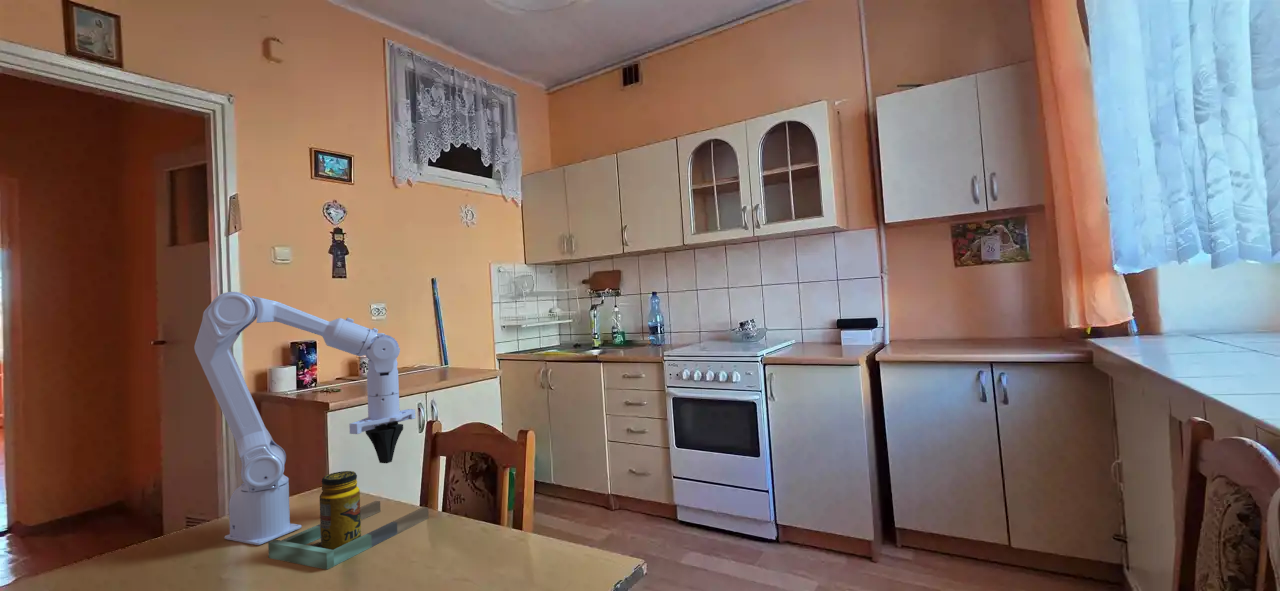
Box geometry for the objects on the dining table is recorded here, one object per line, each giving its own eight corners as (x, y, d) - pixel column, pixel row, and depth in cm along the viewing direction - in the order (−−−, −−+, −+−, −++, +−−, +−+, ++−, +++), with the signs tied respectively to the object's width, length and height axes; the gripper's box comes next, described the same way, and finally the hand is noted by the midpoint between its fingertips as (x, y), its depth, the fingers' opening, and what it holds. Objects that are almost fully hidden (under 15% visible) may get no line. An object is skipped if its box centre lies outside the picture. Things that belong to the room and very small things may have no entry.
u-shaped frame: (268, 557, 90) (268, 542, 90) (376, 510, 110) (375, 498, 110) (327, 569, 85) (326, 553, 85) (428, 518, 105) (428, 504, 105)
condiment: (369, 545, 94) (366, 474, 94) (312, 562, 88) (310, 486, 88) (355, 533, 99) (353, 466, 99) (301, 549, 93) (299, 477, 93)
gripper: (367, 401, 102) (370, 474, 102) (425, 388, 116) (427, 453, 116) (340, 400, 105) (342, 471, 105) (400, 388, 118) (402, 451, 118)
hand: (385, 462), depth 110 cm, fingers closed
